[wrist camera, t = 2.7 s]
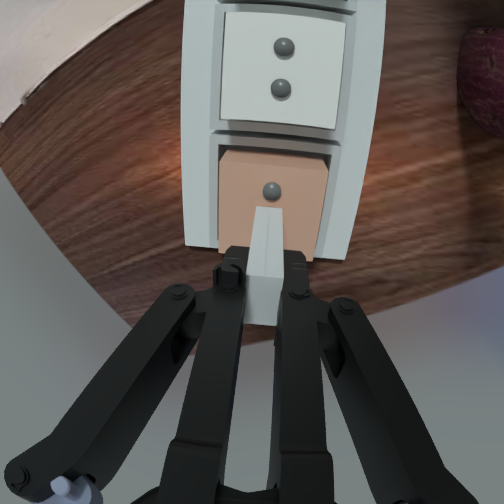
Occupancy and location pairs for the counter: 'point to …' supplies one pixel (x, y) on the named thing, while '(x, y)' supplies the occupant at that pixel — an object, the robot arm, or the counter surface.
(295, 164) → the key three
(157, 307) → the robot arm
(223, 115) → the key two
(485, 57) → the vegetable
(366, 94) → the console
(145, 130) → the counter surface
